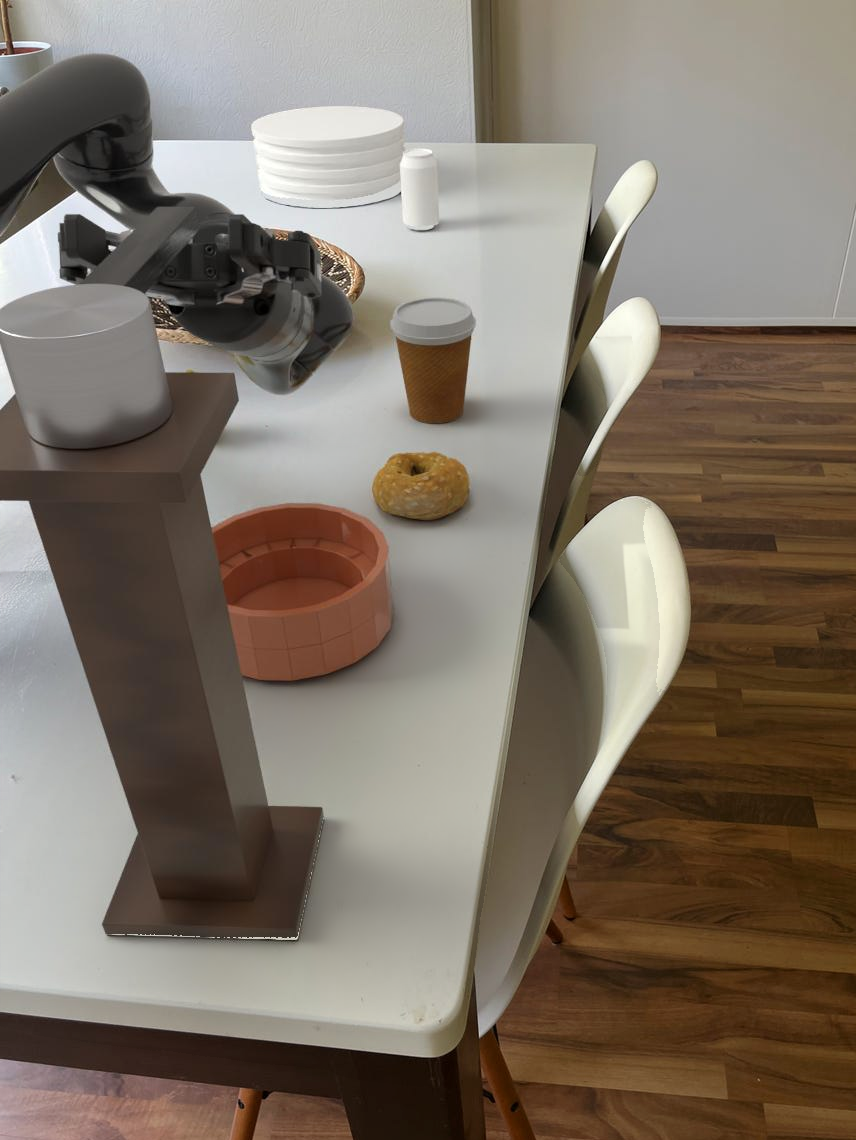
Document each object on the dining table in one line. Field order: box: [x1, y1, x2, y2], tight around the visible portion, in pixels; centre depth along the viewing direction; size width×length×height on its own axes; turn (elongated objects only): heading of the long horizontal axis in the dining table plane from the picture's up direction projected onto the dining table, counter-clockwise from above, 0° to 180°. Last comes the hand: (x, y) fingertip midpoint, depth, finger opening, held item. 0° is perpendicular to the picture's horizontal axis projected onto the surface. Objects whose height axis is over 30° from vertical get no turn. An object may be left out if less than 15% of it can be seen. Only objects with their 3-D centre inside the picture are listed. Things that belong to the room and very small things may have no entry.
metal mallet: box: [0, 207, 200, 449], centre depth 50 cm, size 6×19×5 cm, turn 178°
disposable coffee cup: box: [389, 296, 477, 424], centre depth 116 cm, size 10×10×12 cm
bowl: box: [211, 502, 395, 682], centre depth 86 cm, size 17×17×7 cm
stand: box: [0, 371, 325, 938], centre depth 57 cm, size 12×10×32 cm
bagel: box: [371, 451, 471, 521], centre depth 102 cm, size 10×11×5 cm
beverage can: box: [400, 148, 440, 227], centre depth 172 cm, size 6×6×12 cm
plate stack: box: [250, 105, 406, 201], centre depth 192 cm, size 28×28×12 cm
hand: (152, 234), depth 52 cm, fingers open, 8 cm apart
